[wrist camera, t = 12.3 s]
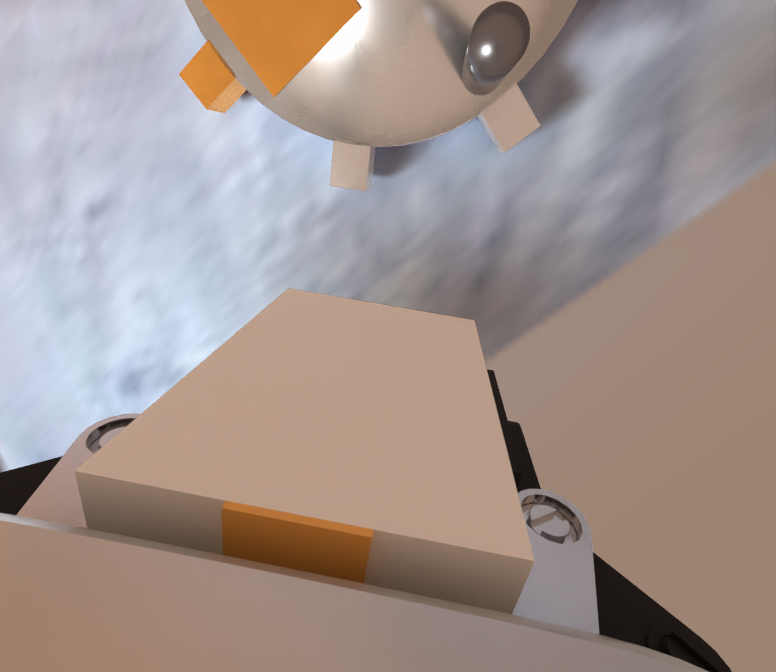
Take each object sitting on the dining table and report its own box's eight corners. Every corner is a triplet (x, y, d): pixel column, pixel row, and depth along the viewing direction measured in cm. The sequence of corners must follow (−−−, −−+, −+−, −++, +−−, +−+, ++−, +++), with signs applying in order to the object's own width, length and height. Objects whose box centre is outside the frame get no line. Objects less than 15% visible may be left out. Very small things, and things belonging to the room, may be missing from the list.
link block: (438, 467, 13) (440, 791, 6) (282, 438, 13) (124, 721, 6) (474, 320, 11) (537, 569, 4) (288, 288, 11) (67, 477, 4)
